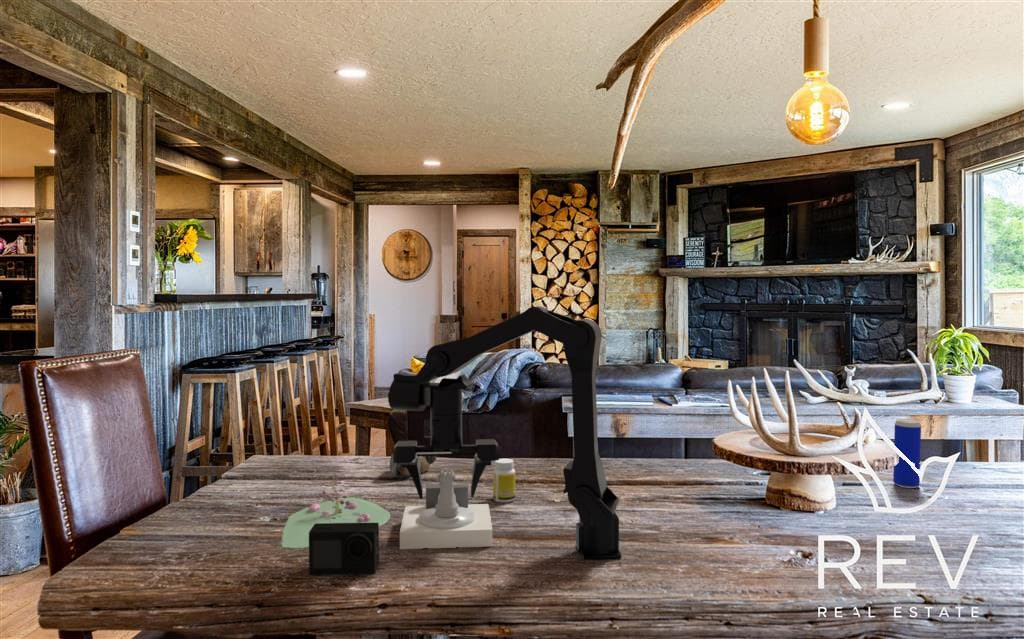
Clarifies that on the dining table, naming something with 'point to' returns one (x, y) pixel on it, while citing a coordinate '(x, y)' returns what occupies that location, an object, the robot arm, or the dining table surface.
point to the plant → (330, 517)
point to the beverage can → (907, 452)
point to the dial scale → (446, 523)
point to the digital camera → (343, 548)
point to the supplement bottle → (504, 481)
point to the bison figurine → (398, 470)
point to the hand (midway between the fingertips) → (446, 497)
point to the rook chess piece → (446, 496)
